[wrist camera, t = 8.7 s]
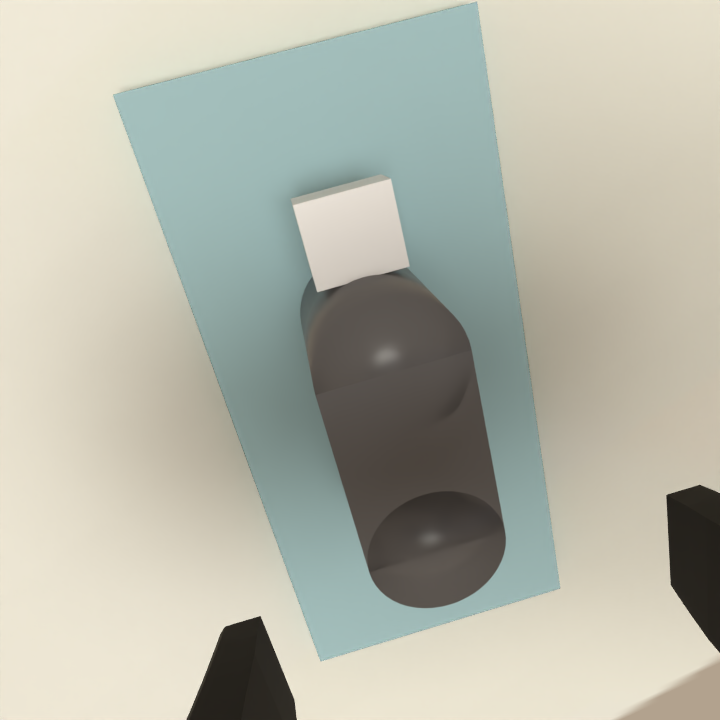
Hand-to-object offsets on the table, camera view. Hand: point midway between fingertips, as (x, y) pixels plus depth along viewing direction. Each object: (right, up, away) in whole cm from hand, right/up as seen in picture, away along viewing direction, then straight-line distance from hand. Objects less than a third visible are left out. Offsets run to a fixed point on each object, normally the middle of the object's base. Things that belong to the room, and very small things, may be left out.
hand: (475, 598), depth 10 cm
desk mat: (-1, +3, +9) cm, 9 cm away
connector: (-1, +3, +8) cm, 9 cm away
